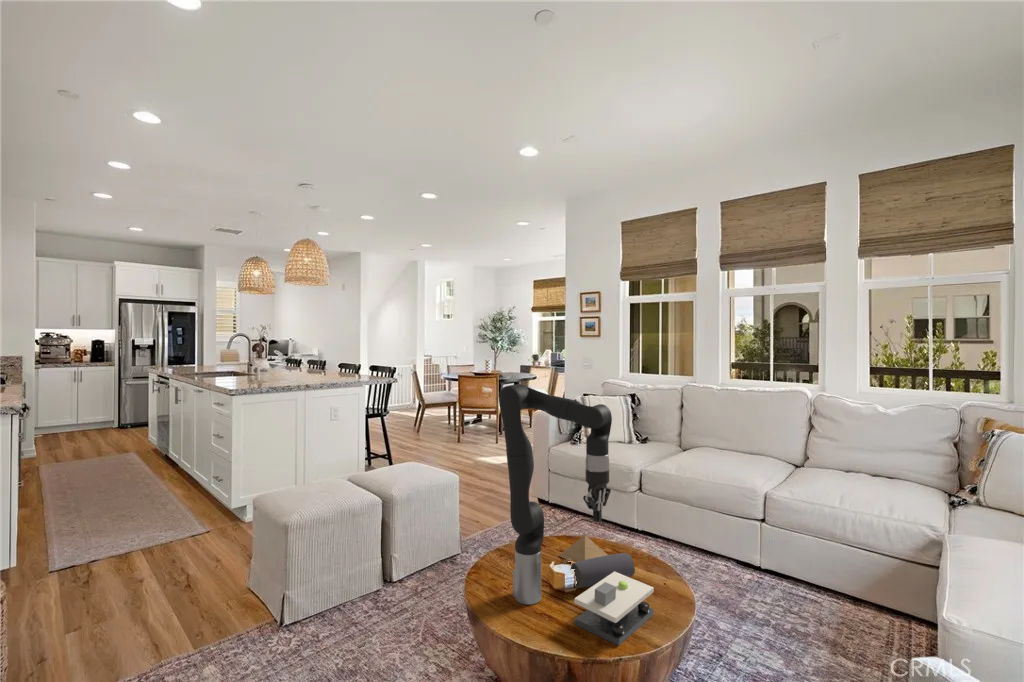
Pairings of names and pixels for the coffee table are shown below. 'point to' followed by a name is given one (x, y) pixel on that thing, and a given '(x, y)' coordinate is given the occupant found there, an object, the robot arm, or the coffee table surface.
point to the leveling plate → (621, 597)
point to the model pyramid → (582, 550)
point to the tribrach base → (607, 624)
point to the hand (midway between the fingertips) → (597, 520)
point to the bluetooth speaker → (602, 568)
